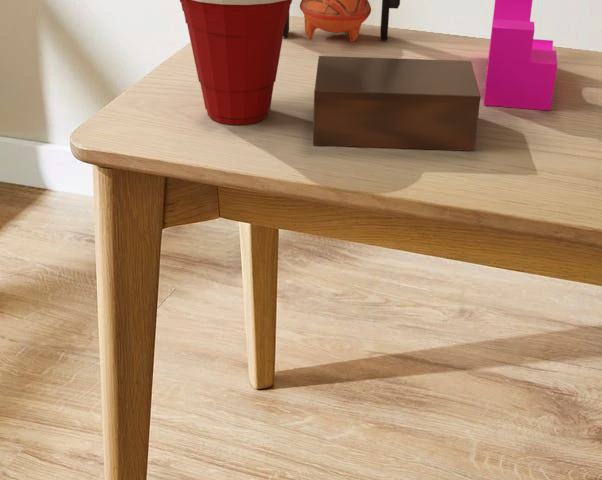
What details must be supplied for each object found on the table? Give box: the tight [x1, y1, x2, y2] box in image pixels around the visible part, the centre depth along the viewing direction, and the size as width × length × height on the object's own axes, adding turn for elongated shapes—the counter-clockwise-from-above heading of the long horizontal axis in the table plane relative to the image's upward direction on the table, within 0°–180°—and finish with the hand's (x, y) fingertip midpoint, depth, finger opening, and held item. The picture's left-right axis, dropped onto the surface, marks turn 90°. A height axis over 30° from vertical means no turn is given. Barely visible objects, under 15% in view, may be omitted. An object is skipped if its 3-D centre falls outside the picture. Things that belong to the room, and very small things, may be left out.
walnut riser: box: [312, 55, 482, 152], centre depth 87 cm, size 14×9×5 cm, turn 87°
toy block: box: [483, 0, 558, 111], centre depth 97 cm, size 15×6×8 cm, turn 169°
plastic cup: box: [179, 0, 293, 125], centre depth 88 cm, size 11×11×12 cm
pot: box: [299, 0, 372, 43], centre depth 109 cm, size 8×8×7 cm
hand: (334, 34), depth 111 cm, fingers open, 10 cm apart
